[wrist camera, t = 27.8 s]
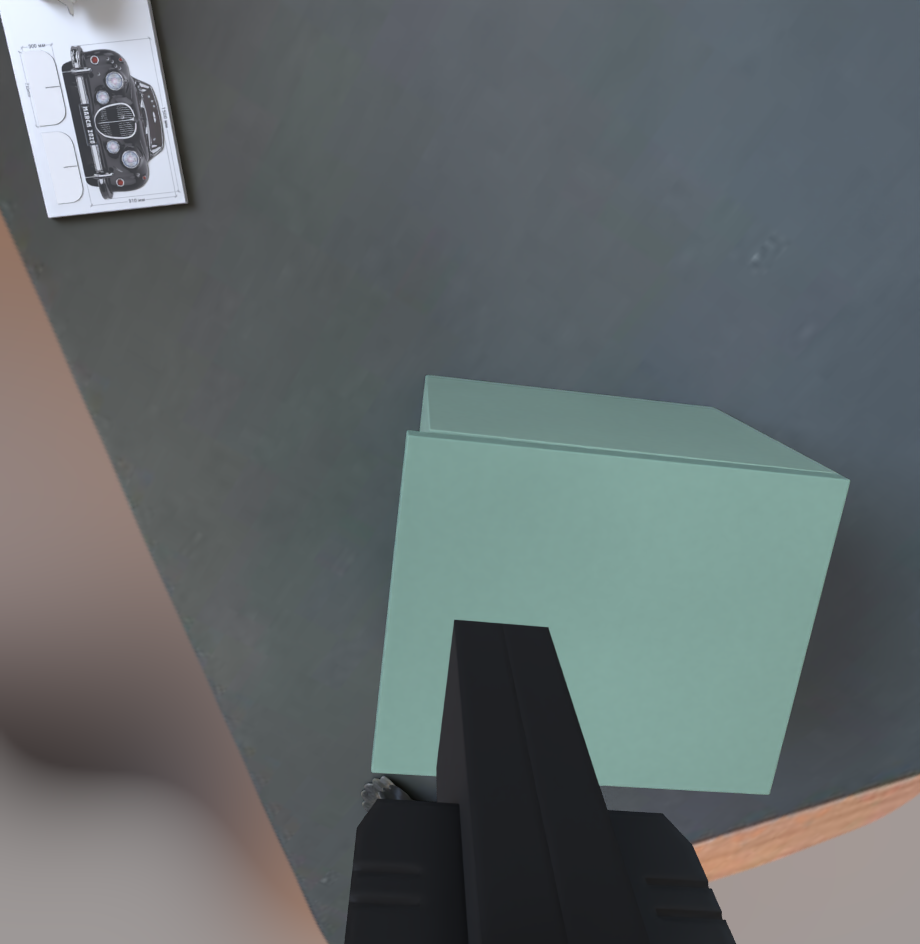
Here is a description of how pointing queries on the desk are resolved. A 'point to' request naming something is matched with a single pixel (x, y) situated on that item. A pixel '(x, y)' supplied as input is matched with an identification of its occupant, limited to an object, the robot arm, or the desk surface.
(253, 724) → the desk surface
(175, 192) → the car cutout
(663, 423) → the box
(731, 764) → the lid
